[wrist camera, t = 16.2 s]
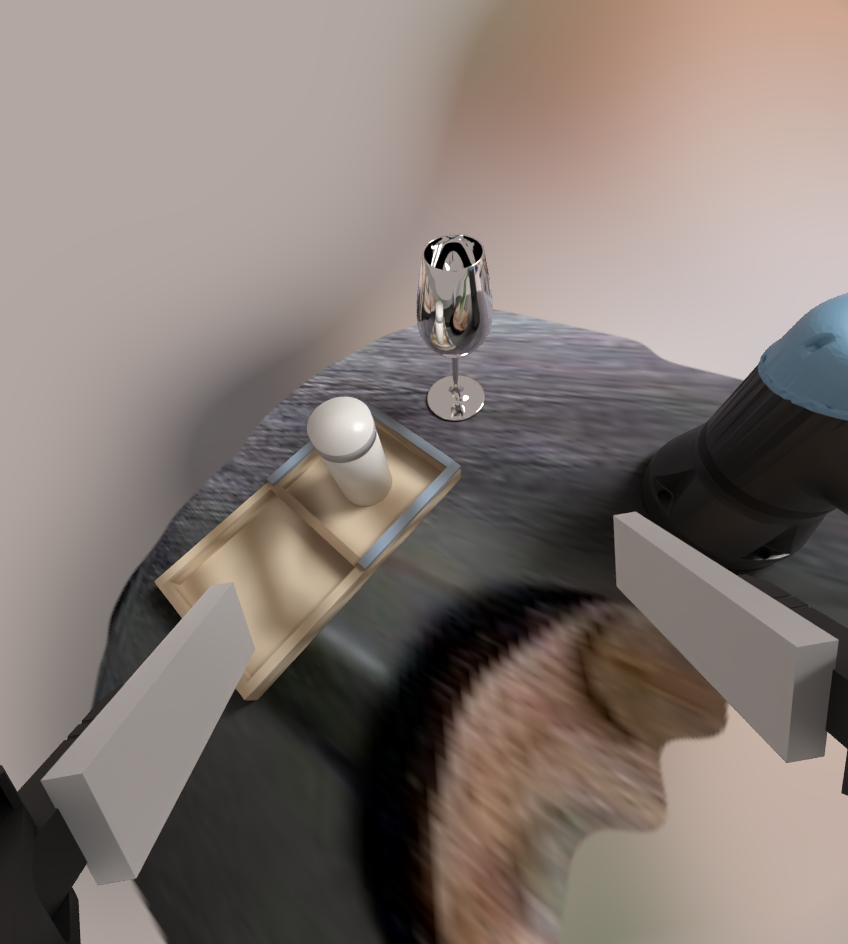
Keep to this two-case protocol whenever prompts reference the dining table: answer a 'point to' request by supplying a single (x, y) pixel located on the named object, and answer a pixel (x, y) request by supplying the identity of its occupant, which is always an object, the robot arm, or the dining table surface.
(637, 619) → the dining table surface
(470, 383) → the wineglass
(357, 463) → the domed white canister
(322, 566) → the bay tray
